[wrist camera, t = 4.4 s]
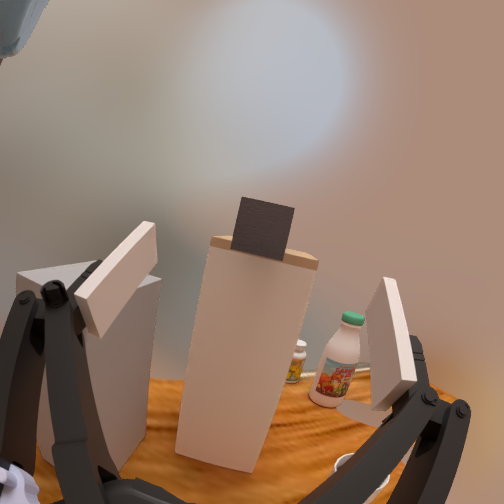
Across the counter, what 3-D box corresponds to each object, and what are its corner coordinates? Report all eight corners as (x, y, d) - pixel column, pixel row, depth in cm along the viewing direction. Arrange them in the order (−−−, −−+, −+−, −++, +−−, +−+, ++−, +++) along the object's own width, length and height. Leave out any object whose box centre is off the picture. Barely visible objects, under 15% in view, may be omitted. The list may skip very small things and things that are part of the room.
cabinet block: (174, 452, 32) (211, 236, 29) (196, 409, 43) (231, 235, 41) (252, 473, 31) (318, 261, 28) (259, 426, 42) (308, 253, 40)
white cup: (299, 501, 26) (327, 453, 25) (345, 498, 26) (377, 451, 25) (308, 537, 19) (343, 494, 18) (358, 531, 20) (398, 486, 19)
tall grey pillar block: (42, 458, 20) (16, 272, 18) (94, 410, 34) (100, 260, 32) (101, 495, 20) (88, 306, 18) (145, 434, 33) (162, 278, 32)
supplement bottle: (301, 378, 64) (312, 343, 63) (293, 386, 59) (305, 349, 58) (281, 370, 66) (291, 335, 66) (272, 377, 62) (283, 341, 61)
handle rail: (230, 249, 19) (241, 196, 19) (259, 241, 45) (264, 219, 45) (282, 261, 19) (294, 208, 18) (282, 246, 44) (287, 224, 44)
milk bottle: (301, 394, 56) (328, 308, 54) (323, 387, 61) (349, 307, 59) (327, 412, 50) (360, 322, 48) (348, 402, 55) (378, 319, 53)
